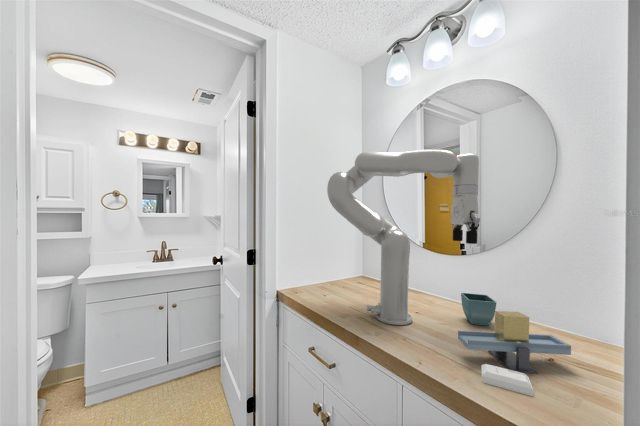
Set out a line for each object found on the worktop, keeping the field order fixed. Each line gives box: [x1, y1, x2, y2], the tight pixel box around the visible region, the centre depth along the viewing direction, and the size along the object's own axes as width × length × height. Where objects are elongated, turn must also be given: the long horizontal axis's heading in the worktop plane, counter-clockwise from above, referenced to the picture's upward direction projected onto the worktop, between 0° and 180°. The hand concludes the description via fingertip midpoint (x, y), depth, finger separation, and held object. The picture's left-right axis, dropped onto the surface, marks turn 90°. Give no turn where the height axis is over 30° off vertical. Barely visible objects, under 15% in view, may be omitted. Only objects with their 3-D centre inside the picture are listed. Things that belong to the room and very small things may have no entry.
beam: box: [457, 329, 572, 356], centre depth 69 cm, size 24×7×2 cm, turn 87°
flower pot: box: [460, 292, 497, 327], centre depth 95 cm, size 9×9×9 cm
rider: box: [494, 310, 530, 343], centre depth 69 cm, size 6×4×7 cm, turn 87°
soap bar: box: [480, 363, 534, 397], centre depth 60 cm, size 5×9×3 cm, turn 61°
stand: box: [487, 347, 539, 375], centre depth 69 cm, size 6×10×6 cm, turn 177°
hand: (464, 242), depth 91 cm, fingers open, 9 cm apart
